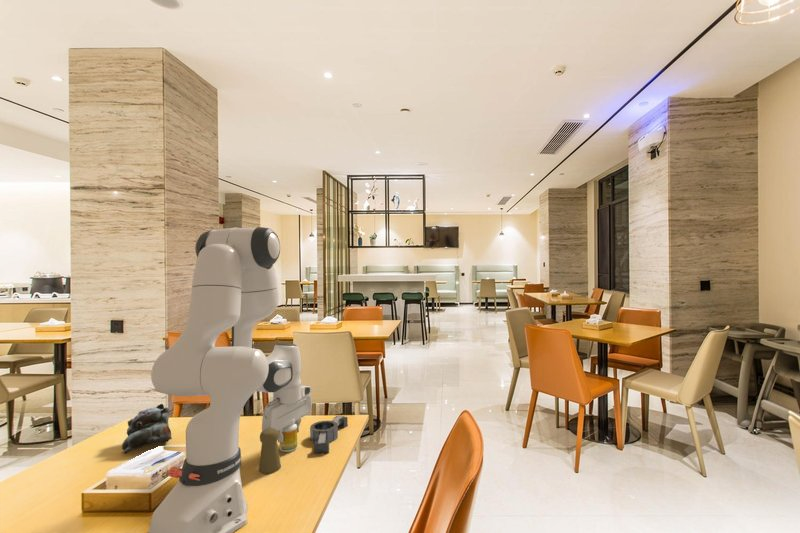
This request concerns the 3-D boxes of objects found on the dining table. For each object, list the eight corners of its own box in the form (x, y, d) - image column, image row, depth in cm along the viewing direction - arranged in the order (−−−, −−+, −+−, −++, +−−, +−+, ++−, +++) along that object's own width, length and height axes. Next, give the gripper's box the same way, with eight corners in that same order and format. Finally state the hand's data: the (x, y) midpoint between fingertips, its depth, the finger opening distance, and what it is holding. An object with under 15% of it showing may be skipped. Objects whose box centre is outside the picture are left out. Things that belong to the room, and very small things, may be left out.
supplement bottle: (277, 448, 124) (276, 418, 125) (293, 443, 128) (292, 414, 128) (284, 454, 120) (283, 423, 120) (300, 449, 124) (299, 418, 124)
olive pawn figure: (274, 474, 108) (273, 434, 108) (254, 472, 109) (253, 433, 110) (284, 464, 114) (284, 426, 114) (266, 462, 115) (265, 425, 116)
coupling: (324, 456, 118) (324, 442, 119) (292, 449, 123) (291, 437, 123) (361, 427, 140) (360, 416, 140) (331, 423, 144) (331, 412, 144)
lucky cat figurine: (111, 456, 121) (112, 411, 127) (139, 455, 132) (139, 413, 138) (156, 441, 121) (156, 397, 127) (181, 441, 132) (179, 400, 138)
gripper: (273, 405, 113) (274, 453, 113) (314, 385, 132) (315, 426, 132) (256, 403, 116) (257, 449, 116) (299, 384, 135) (300, 424, 135)
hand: (288, 437), depth 124 cm, fingers closed on supplement bottle, 5 cm apart
